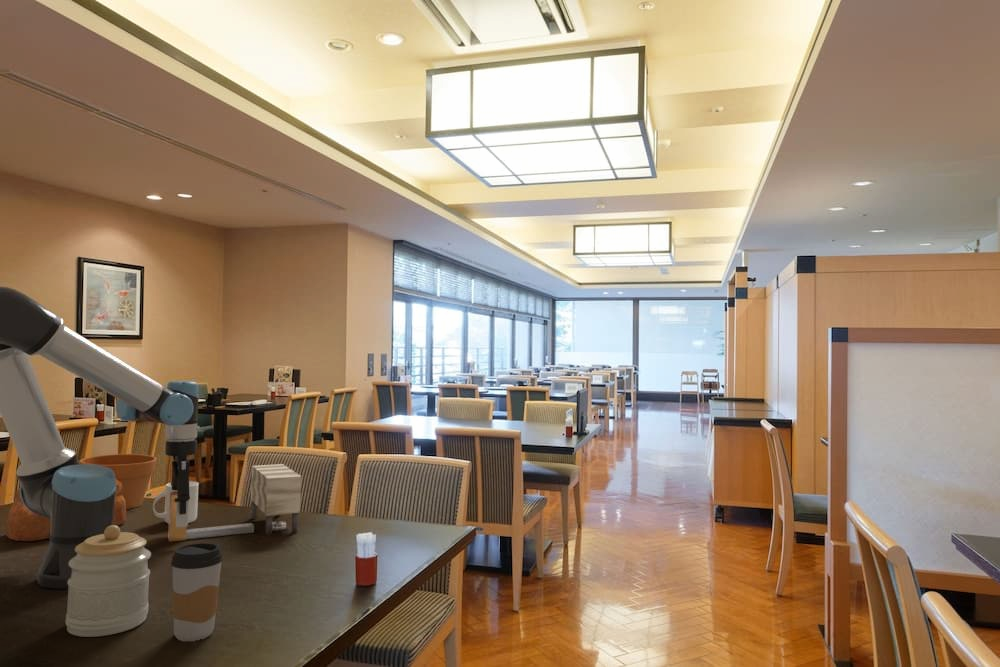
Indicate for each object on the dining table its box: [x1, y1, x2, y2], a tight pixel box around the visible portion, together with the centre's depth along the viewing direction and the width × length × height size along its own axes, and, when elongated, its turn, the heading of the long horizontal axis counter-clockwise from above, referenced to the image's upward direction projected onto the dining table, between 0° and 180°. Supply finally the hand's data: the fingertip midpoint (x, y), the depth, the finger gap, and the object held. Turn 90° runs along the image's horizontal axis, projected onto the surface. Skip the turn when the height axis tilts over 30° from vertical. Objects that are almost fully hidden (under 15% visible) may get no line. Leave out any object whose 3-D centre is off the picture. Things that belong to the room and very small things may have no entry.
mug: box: [152, 480, 199, 525], centre depth 190 cm, size 9×12×11 cm
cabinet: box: [250, 463, 302, 537], centre depth 190 cm, size 22×9×16 cm, turn 31°
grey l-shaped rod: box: [167, 492, 255, 543], centre depth 178 cm, size 4×21×12 cm, turn 121°
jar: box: [65, 525, 152, 638], centre depth 120 cm, size 13×13×18 cm
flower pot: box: [79, 453, 157, 510], centre depth 207 cm, size 21×21×15 cm
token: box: [272, 520, 287, 532], centre depth 186 cm, size 5×5×2 cm
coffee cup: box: [170, 542, 224, 642], centre depth 116 cm, size 8×8×15 cm
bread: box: [5, 479, 128, 542], centre depth 179 cm, size 14×26×16 cm, turn 143°
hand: (179, 520), depth 173 cm, fingers open, 13 cm apart
